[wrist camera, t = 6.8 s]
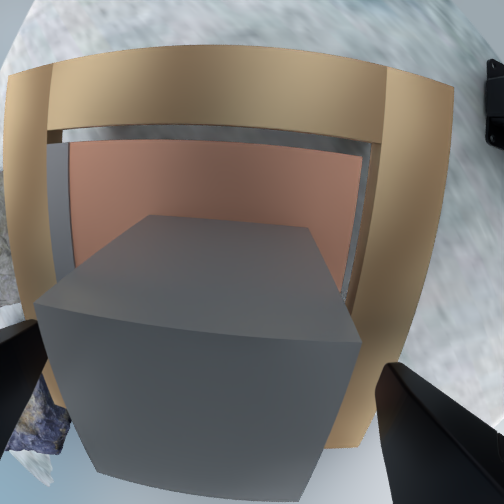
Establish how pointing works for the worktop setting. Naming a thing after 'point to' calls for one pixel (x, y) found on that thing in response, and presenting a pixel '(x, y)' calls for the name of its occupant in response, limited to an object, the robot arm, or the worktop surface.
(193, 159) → the trapdoor
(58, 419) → the rock
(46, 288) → the trapdoor frame
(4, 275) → the fossilized seashell
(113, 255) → the grey block
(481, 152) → the worktop surface
